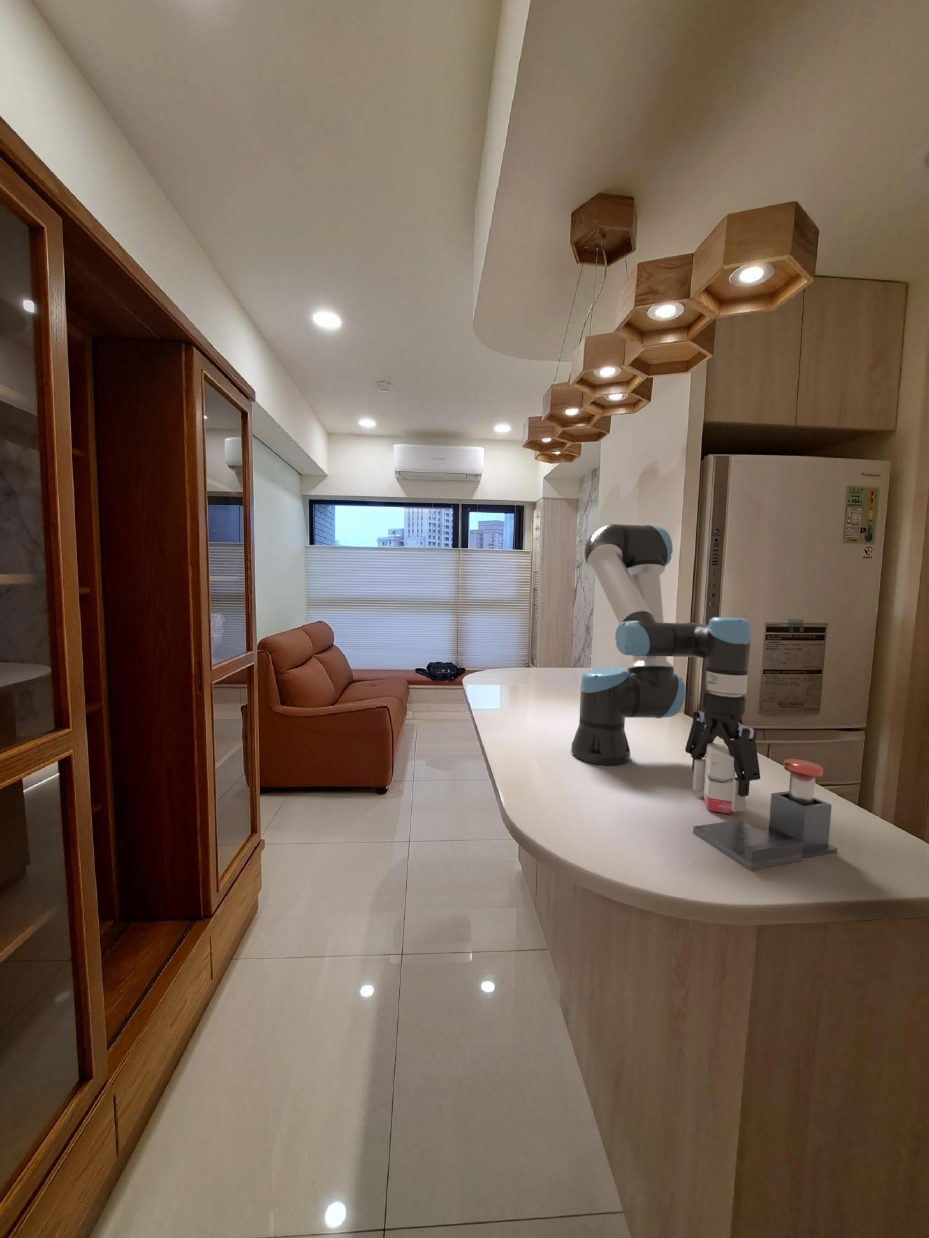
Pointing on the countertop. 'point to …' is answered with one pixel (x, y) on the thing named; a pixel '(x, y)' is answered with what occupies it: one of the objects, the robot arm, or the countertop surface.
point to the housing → (801, 823)
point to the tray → (750, 844)
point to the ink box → (718, 778)
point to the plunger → (802, 780)
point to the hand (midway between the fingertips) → (717, 798)
